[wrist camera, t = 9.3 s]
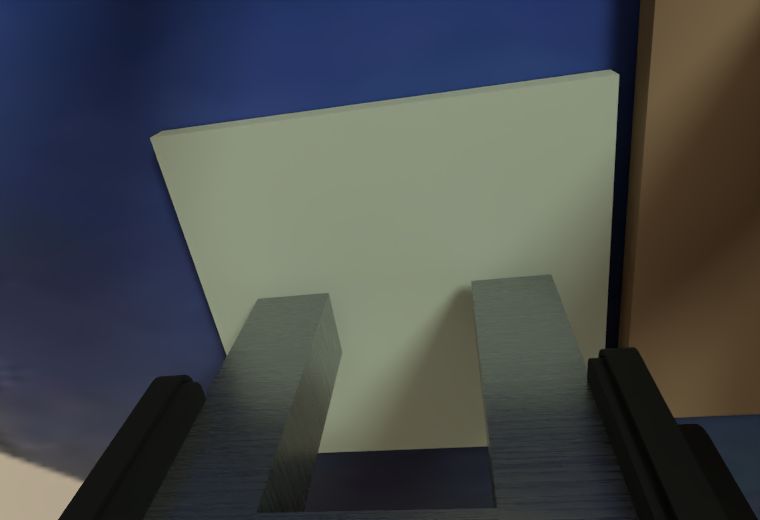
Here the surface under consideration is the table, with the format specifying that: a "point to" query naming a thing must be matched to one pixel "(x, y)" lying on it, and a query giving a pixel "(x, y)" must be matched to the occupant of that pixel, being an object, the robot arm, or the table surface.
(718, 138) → the stand
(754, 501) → the table surface
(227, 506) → the grey u-shaped block
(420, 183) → the mat
